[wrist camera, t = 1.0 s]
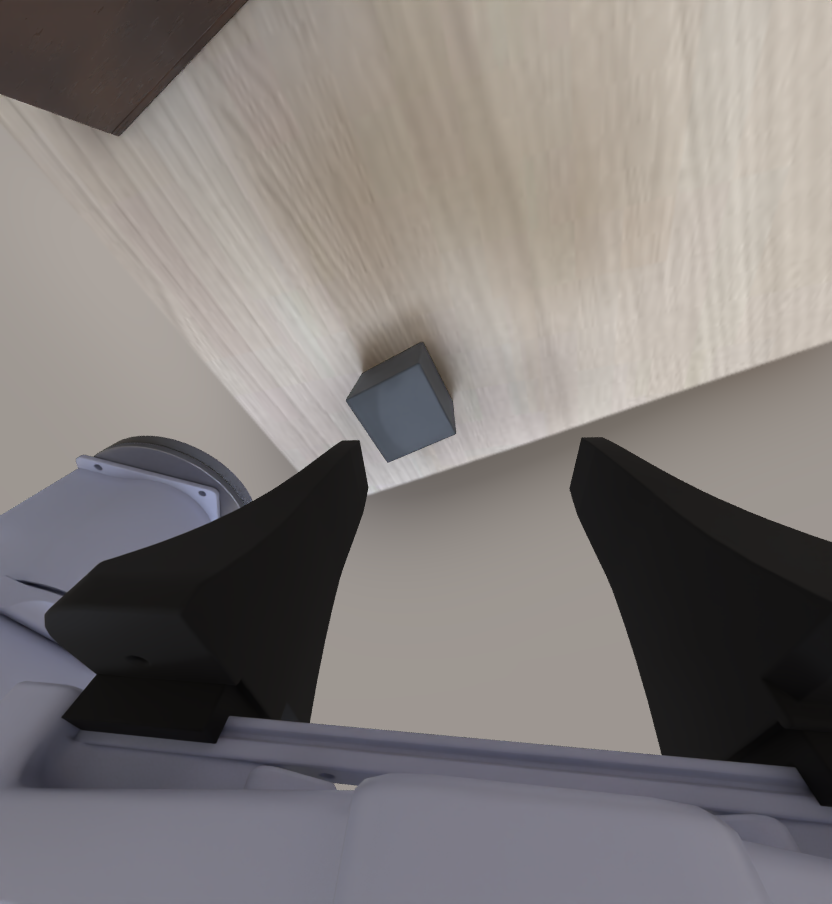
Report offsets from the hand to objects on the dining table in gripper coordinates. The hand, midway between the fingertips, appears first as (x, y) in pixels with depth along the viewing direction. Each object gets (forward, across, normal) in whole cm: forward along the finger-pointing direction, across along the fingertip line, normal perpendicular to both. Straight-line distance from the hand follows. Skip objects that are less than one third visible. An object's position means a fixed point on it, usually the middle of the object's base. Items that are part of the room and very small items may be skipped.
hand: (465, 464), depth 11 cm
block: (+9, +3, +1) cm, 9 cm away
